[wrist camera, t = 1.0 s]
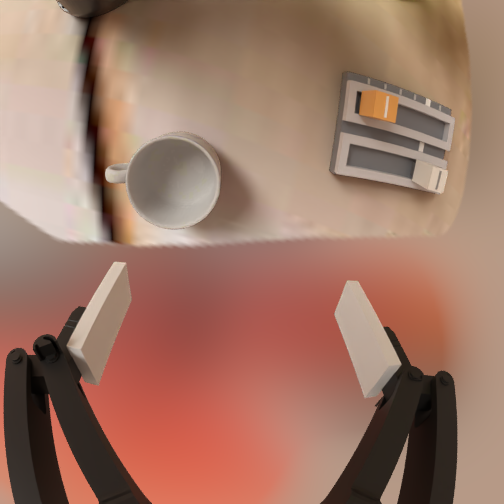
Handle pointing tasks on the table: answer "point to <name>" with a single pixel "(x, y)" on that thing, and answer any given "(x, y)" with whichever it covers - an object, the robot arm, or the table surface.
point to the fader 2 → (429, 176)
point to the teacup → (171, 180)
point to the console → (388, 135)
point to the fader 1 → (378, 105)
